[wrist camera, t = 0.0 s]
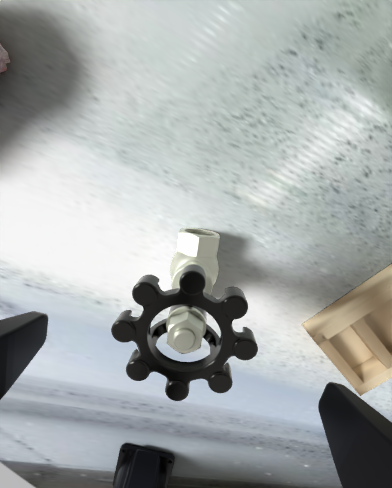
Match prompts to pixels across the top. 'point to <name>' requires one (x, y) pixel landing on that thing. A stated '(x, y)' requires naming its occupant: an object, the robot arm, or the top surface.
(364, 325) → the holder
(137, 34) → the top surface
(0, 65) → the food item
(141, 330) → the valve
